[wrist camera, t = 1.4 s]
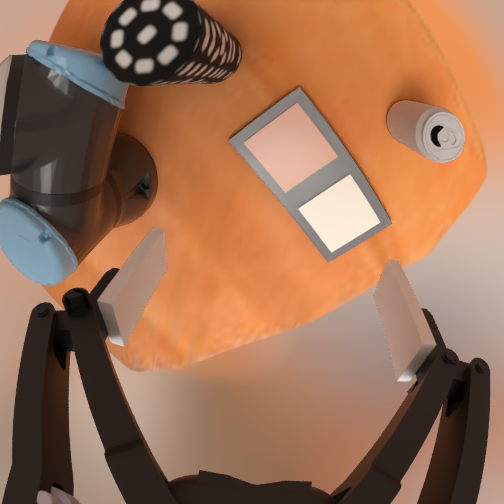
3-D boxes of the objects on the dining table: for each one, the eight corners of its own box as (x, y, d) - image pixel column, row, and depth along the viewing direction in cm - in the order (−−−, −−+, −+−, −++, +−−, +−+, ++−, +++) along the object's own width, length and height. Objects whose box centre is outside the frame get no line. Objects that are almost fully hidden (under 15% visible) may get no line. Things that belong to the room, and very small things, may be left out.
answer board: (229, 139, 39) (227, 141, 38) (298, 87, 34) (299, 87, 33) (327, 258, 47) (328, 263, 46) (389, 220, 43) (392, 224, 41)
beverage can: (386, 96, 33) (422, 102, 23) (426, 104, 32) (471, 115, 22) (383, 139, 36) (416, 161, 26) (422, 146, 36) (463, 170, 26)
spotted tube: (214, 17, 30) (155, -31, 13) (254, 57, 33) (226, 30, 16) (169, 56, 33) (83, 45, 16) (207, 95, 36) (142, 107, 19)
